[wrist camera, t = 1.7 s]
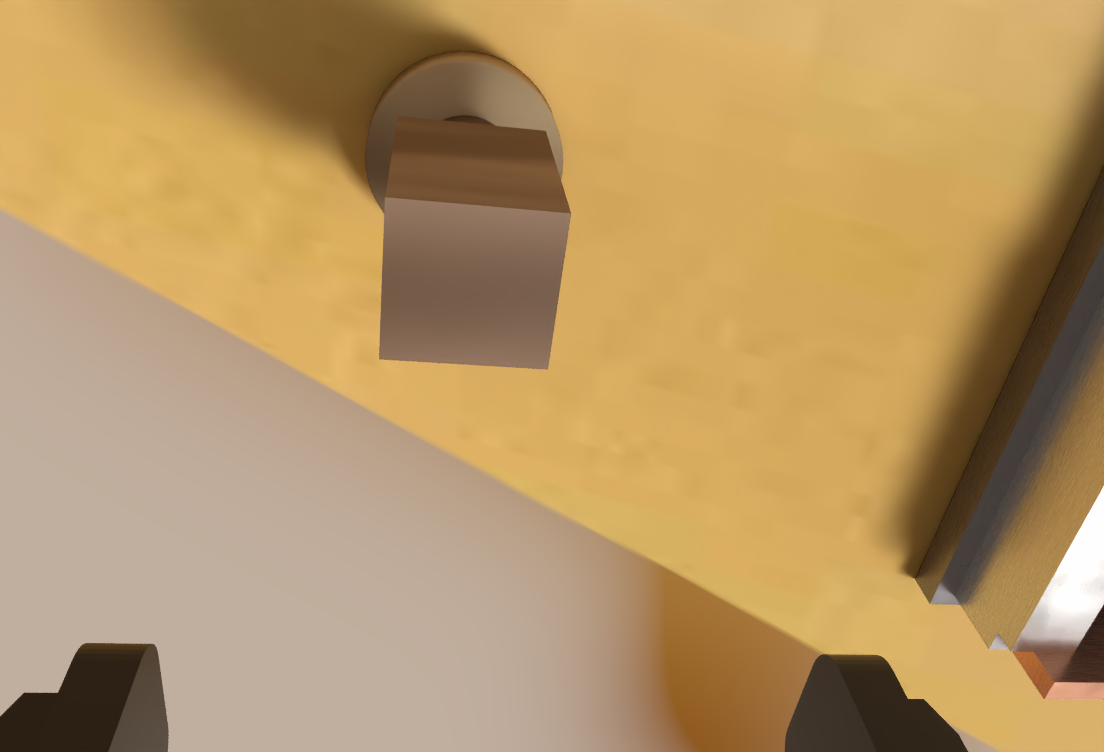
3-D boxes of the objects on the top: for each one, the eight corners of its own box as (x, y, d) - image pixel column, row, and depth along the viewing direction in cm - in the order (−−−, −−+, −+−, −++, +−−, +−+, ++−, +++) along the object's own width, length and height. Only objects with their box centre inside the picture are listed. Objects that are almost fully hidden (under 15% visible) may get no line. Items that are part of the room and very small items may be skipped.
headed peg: (371, 40, 27) (337, 146, 19) (570, 62, 28) (623, 173, 19) (366, 228, 30) (334, 392, 22) (545, 243, 31) (582, 406, 23)
